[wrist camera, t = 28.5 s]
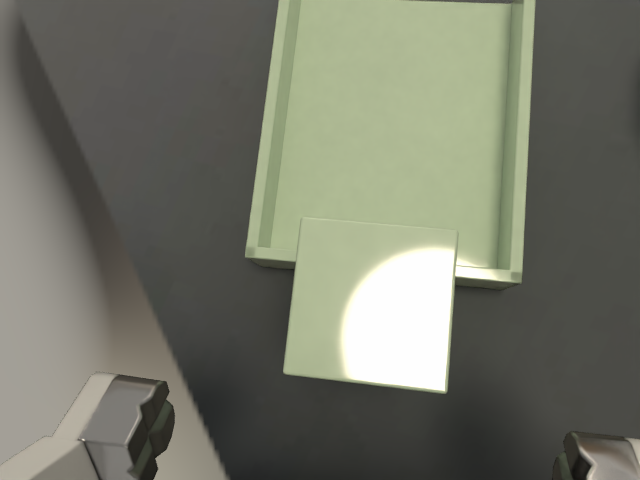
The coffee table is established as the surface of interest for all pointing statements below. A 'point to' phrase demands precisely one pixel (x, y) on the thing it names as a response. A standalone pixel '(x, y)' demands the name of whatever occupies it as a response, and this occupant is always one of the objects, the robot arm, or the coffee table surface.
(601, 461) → the robot arm
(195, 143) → the coffee table surface
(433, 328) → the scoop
